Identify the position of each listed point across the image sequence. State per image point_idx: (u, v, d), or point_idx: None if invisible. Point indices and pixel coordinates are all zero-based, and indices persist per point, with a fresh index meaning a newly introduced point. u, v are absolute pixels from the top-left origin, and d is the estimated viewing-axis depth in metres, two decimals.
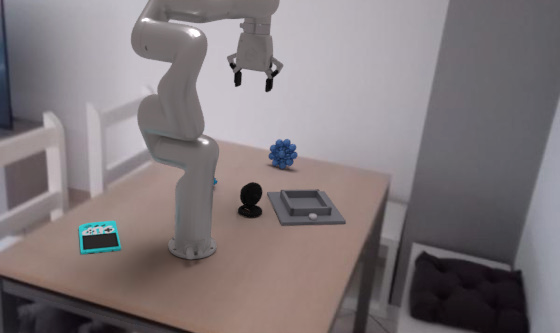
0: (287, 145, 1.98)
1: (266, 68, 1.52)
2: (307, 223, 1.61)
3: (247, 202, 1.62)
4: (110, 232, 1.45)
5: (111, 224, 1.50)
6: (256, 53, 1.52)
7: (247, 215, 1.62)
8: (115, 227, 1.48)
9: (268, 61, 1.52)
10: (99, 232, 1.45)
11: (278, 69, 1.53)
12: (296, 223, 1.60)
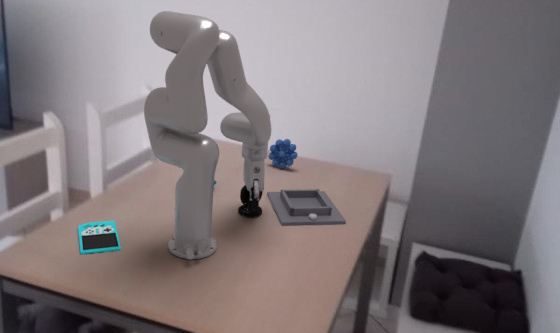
0: (287, 145, 1.98)
1: None
2: (307, 223, 1.61)
3: (247, 202, 1.62)
4: (109, 232, 1.45)
5: (110, 224, 1.50)
6: None
7: (247, 215, 1.62)
8: (114, 227, 1.48)
9: None
10: (98, 232, 1.45)
11: None
12: (296, 223, 1.60)
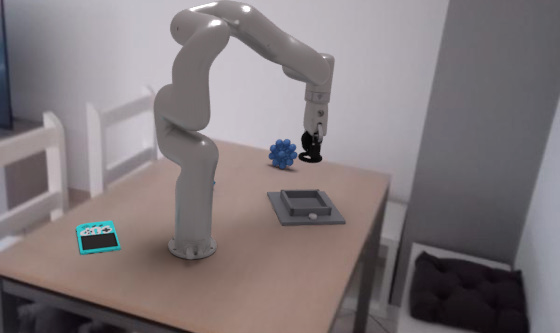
0: (287, 145, 1.98)
1: None
2: (307, 223, 1.61)
3: (308, 147, 1.62)
4: (108, 232, 1.45)
5: (108, 224, 1.50)
6: None
7: (308, 160, 1.62)
8: (113, 227, 1.48)
9: None
10: (97, 232, 1.45)
11: None
12: (296, 223, 1.60)
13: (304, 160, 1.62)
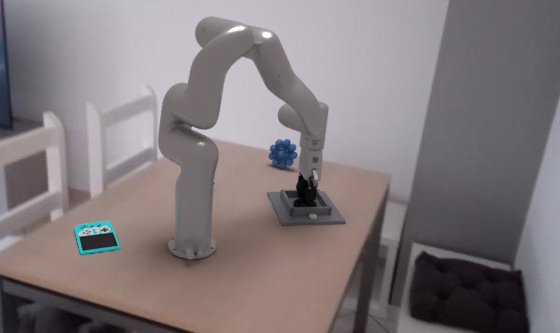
0: (287, 145, 1.98)
1: None
2: (307, 223, 1.61)
3: (303, 196, 1.67)
4: (107, 232, 1.45)
5: (106, 224, 1.49)
6: None
7: None
8: (111, 227, 1.48)
9: None
10: (96, 232, 1.45)
11: None
12: (296, 223, 1.60)
13: None
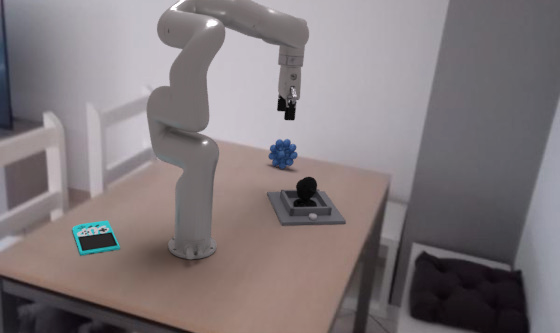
0: (287, 145, 1.98)
1: None
2: (307, 223, 1.61)
3: (303, 196, 1.67)
4: (105, 232, 1.45)
5: (105, 224, 1.49)
6: None
7: None
8: (109, 227, 1.48)
9: None
10: (94, 232, 1.45)
11: None
12: (296, 223, 1.60)
13: None
